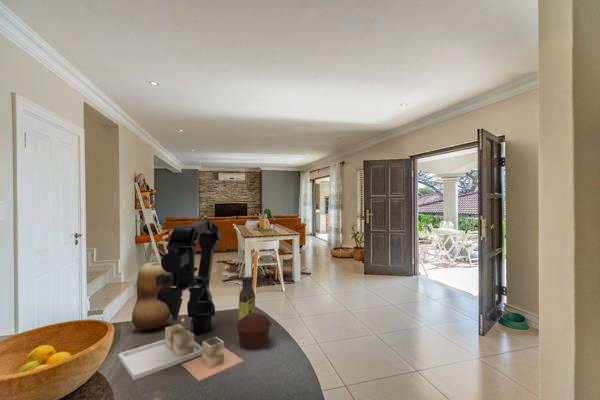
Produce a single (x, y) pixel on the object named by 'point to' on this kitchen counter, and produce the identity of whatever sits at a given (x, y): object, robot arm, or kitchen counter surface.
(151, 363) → the white shallow tray
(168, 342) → the plain box
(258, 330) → the muffin
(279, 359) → the kitchen counter surface
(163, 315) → the butternut squash
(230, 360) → the terracotta tile
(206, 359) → the labelled box
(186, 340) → the plain box
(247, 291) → the sauce bottle
